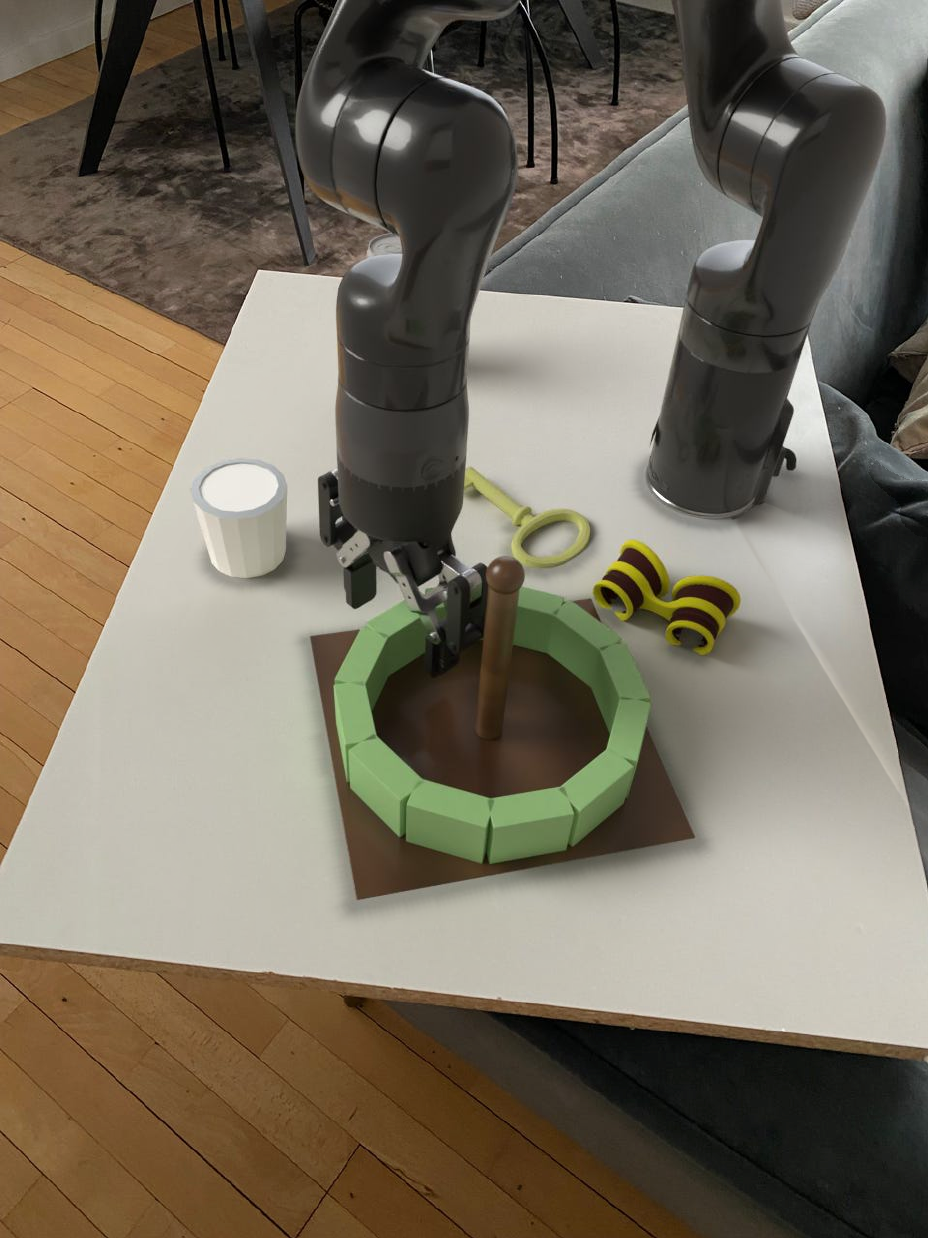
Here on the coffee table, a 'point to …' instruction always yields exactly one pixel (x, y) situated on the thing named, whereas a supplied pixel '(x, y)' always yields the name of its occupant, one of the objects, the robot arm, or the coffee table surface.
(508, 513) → the key
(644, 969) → the coffee table surface
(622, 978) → the coffee table surface
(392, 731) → the stand
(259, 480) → the white cup
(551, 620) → the green ring
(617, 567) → the opera glasses
